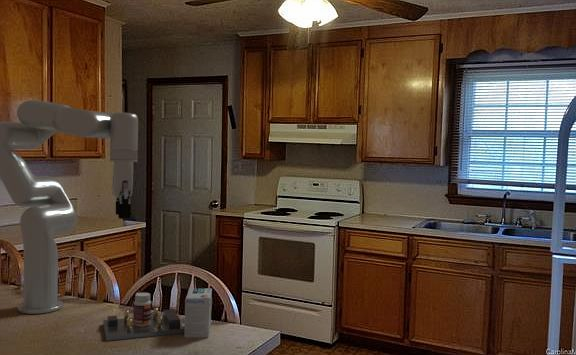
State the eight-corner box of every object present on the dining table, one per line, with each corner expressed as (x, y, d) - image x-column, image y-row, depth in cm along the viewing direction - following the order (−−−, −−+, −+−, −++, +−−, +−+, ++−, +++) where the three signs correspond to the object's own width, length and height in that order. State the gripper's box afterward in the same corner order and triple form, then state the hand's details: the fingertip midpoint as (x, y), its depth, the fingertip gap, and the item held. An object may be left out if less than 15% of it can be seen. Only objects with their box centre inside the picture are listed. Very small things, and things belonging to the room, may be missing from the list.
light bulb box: (187, 325, 151) (188, 287, 151) (211, 325, 152) (212, 287, 151) (183, 338, 140) (184, 297, 140) (209, 338, 141) (210, 297, 141)
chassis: (103, 324, 149) (103, 309, 149) (174, 318, 157) (174, 304, 157) (106, 340, 136) (106, 324, 136) (183, 333, 144) (184, 317, 144)
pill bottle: (146, 327, 144) (146, 297, 144) (130, 326, 145) (130, 295, 145) (154, 322, 149) (154, 292, 148) (138, 320, 150) (138, 291, 149)
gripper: (107, 155, 157) (107, 213, 158) (112, 156, 141) (111, 220, 142) (134, 156, 160) (133, 212, 161) (141, 157, 144) (140, 219, 145)
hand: (122, 216), depth 151 cm, fingers open, 9 cm apart
